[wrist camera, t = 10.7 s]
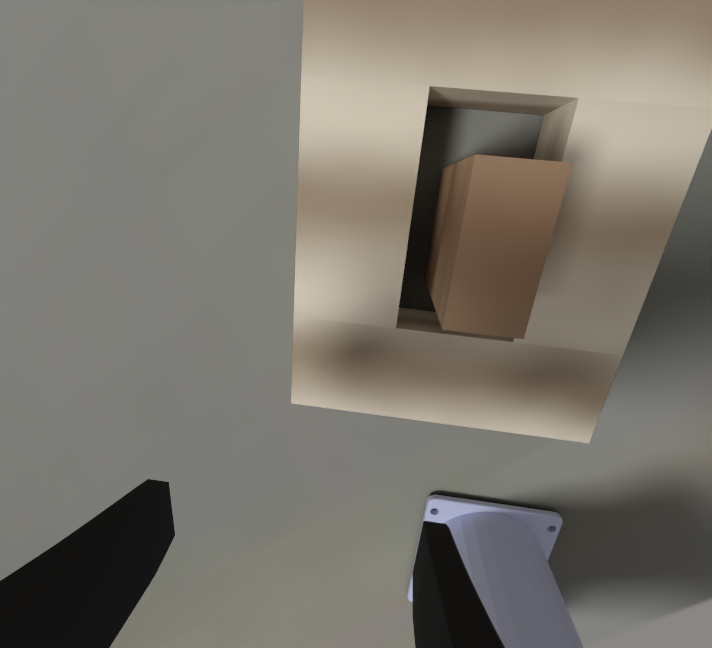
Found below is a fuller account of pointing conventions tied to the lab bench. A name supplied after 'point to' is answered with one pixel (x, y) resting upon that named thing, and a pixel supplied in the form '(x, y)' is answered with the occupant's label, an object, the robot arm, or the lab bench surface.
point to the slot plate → (555, 143)
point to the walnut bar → (492, 241)
